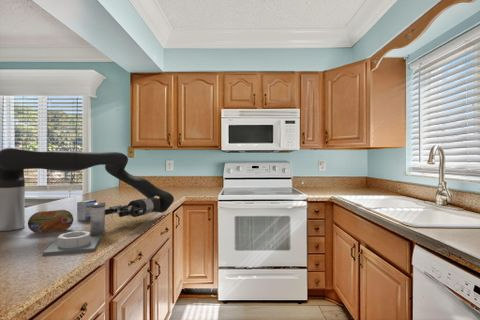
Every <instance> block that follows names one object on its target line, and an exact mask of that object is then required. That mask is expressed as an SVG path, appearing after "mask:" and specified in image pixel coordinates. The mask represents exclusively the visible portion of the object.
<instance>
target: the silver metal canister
mask: <svg viewBox="0 0 480 320" xmlns="http://www.w3.org/2000/svg"><path fill="white" fill-rule="evenodd" d="M105 206H106V202H103V201H102V202H99V201H97V202H96V203H90V219H89V221H90V225H89V227H90V229H89V232H90V237H97V236H100V235H101V236H103V234H104V235H106V231H105V229H106V228H105V227H106V215H105V209H106V207H105Z"/></svg>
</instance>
